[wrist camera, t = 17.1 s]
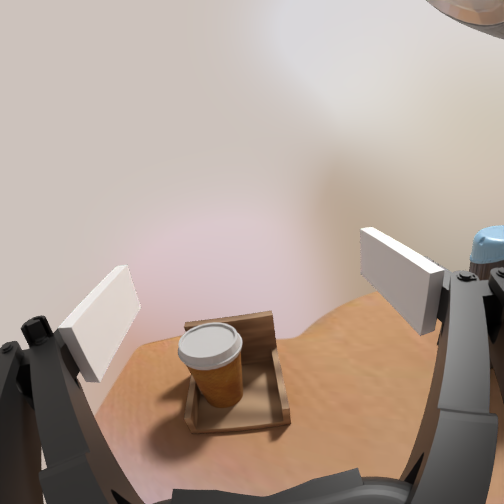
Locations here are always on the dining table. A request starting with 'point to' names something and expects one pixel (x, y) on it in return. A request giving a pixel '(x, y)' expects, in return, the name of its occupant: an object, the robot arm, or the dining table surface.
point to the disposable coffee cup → (214, 362)
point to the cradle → (245, 382)
